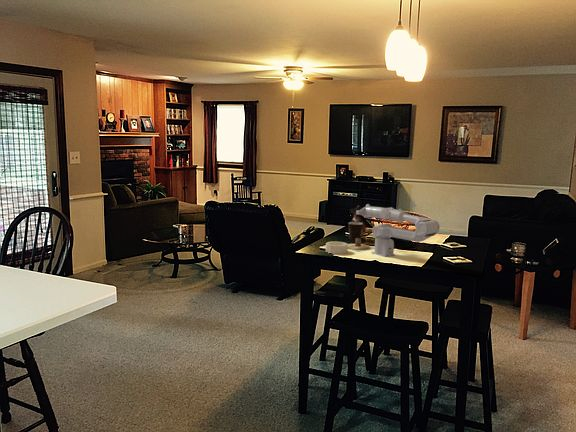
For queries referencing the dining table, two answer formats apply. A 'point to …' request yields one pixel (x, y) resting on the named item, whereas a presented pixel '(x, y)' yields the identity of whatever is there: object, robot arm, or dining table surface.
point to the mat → (362, 250)
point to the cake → (359, 221)
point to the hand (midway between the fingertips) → (355, 210)
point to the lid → (358, 245)
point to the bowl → (336, 247)
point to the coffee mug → (355, 230)
